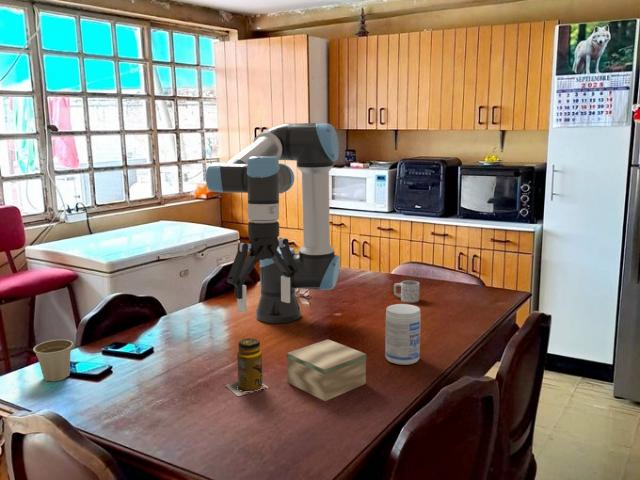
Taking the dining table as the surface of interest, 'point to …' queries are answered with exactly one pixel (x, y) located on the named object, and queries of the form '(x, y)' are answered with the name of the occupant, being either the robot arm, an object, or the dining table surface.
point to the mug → (408, 291)
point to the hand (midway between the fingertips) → (264, 306)
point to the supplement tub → (402, 334)
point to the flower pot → (54, 359)
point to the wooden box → (326, 369)
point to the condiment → (248, 367)
